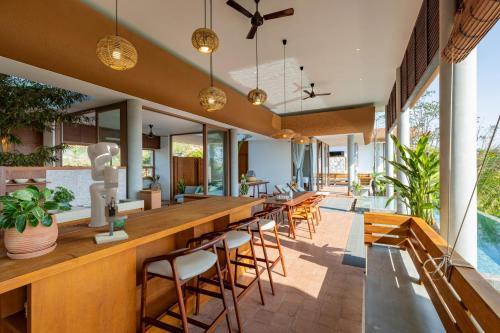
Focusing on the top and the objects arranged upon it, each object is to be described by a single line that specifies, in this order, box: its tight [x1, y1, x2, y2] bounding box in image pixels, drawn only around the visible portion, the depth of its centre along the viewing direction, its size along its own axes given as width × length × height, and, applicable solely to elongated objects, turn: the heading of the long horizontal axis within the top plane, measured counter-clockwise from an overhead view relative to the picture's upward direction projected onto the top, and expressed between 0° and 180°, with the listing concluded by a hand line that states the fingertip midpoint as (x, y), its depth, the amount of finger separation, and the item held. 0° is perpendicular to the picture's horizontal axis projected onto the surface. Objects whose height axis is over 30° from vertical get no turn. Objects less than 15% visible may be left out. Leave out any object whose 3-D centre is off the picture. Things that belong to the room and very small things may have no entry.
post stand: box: [94, 222, 129, 245], centre depth 142 cm, size 16×16×10 cm
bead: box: [105, 204, 119, 219], centre depth 142 cm, size 6×6×6 cm
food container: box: [107, 215, 129, 232], centre depth 157 cm, size 12×6×10 cm, turn 101°
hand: (111, 214), depth 142 cm, fingers closed on bead, 6 cm apart
